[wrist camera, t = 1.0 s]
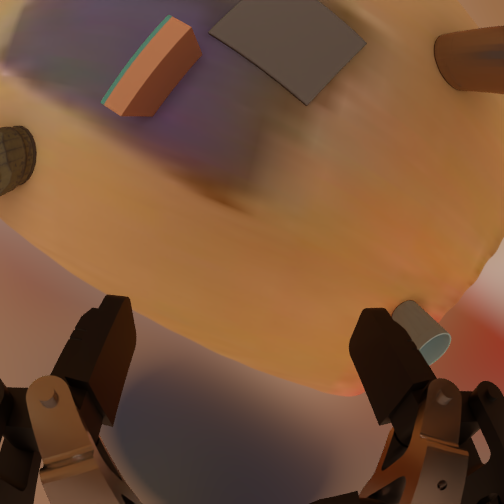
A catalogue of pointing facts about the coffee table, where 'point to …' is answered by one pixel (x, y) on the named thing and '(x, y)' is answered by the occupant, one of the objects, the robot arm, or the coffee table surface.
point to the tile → (154, 70)
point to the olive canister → (15, 157)
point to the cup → (422, 330)
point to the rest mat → (290, 42)
